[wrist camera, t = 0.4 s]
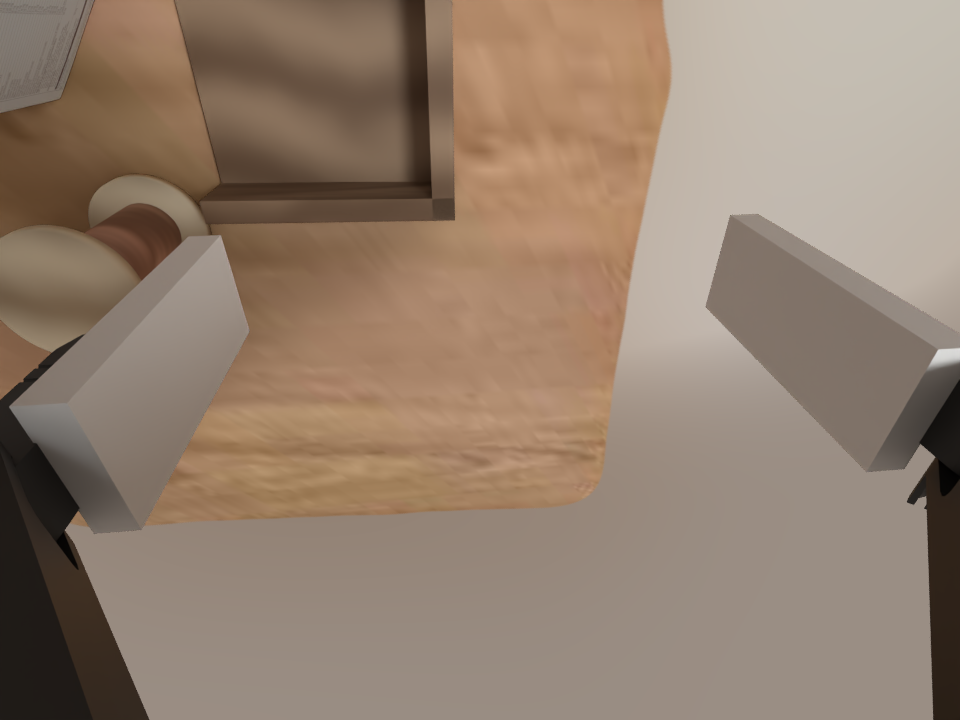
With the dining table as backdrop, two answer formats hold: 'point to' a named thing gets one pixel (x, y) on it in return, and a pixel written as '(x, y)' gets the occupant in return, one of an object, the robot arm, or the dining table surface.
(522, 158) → the dining table surface
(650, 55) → the dining table surface
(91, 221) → the bobbin post
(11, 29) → the supplement box
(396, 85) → the open wooden tray
